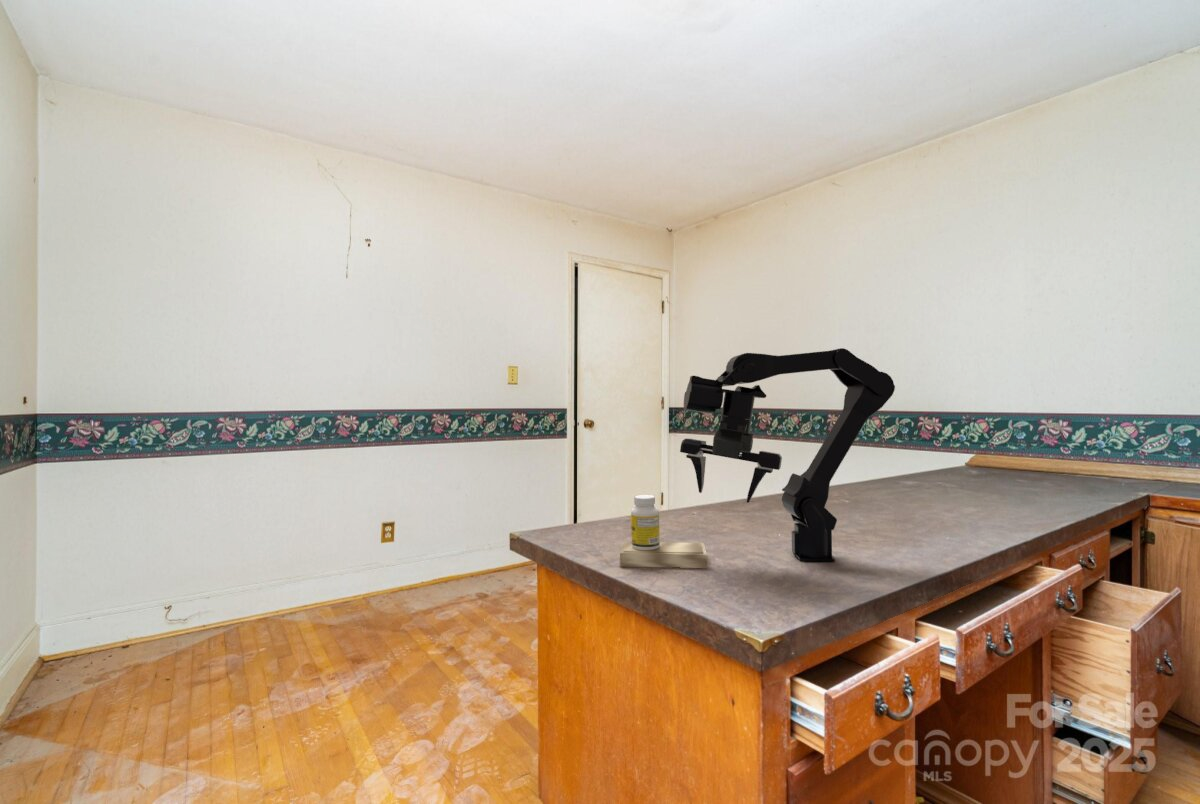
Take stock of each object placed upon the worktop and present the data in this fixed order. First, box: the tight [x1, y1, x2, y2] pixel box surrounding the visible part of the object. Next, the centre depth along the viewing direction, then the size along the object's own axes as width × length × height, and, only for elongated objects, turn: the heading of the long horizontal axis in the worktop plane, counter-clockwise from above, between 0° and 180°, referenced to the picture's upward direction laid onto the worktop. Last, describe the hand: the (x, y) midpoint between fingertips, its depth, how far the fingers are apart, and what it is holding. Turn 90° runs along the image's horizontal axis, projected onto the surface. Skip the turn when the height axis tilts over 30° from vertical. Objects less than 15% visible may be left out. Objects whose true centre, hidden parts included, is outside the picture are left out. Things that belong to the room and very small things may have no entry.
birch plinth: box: [619, 541, 708, 569], centre depth 104 cm, size 16×8×3 cm, turn 83°
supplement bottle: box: [630, 494, 661, 550], centre depth 104 cm, size 5×5×10 cm
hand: (723, 497), depth 105 cm, fingers open, 9 cm apart
